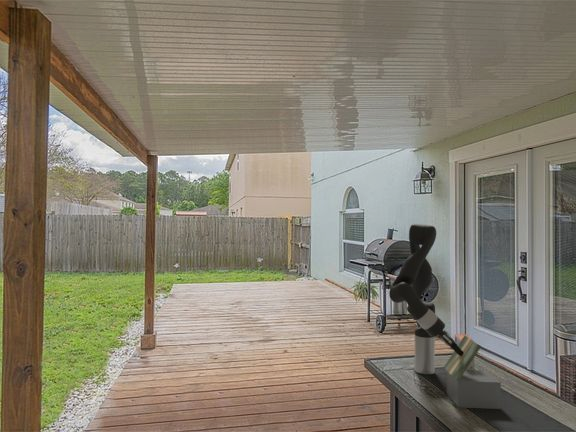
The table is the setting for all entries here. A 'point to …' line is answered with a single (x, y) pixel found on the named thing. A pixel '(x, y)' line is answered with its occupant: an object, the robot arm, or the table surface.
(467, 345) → the lid
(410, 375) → the table surface
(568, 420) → the table surface
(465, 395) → the block
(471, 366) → the cracker box
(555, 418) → the table surface
